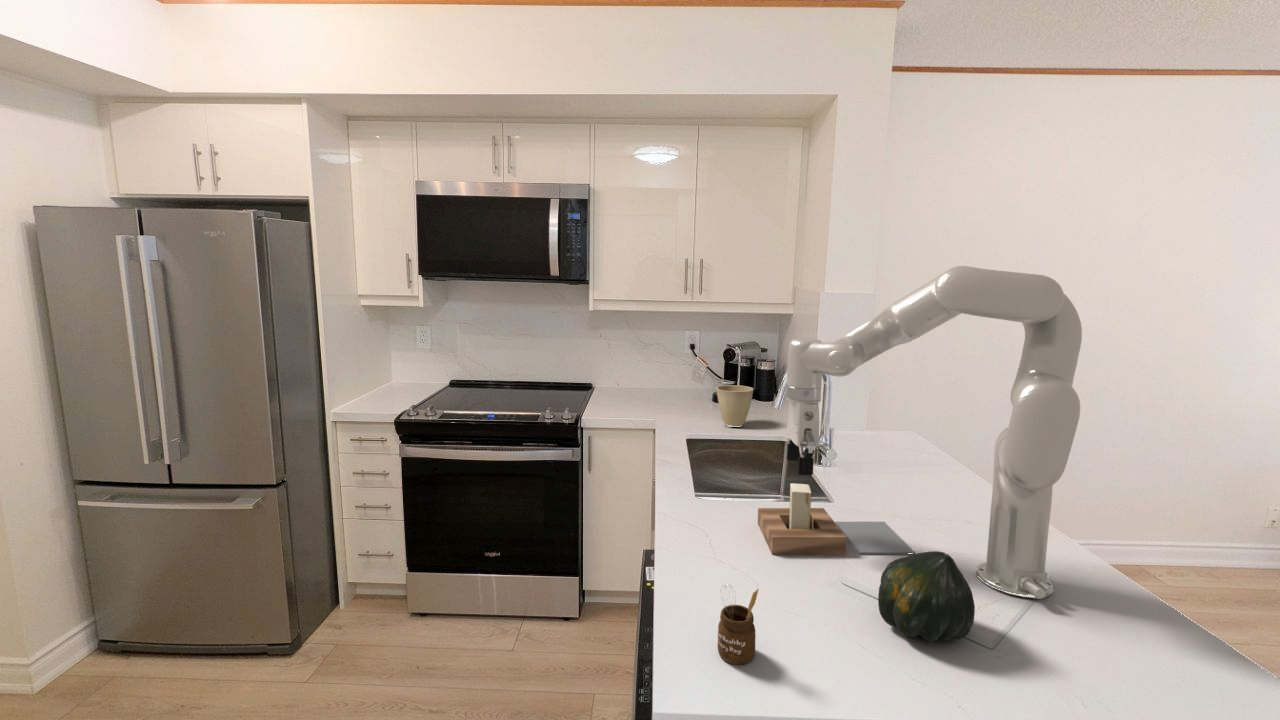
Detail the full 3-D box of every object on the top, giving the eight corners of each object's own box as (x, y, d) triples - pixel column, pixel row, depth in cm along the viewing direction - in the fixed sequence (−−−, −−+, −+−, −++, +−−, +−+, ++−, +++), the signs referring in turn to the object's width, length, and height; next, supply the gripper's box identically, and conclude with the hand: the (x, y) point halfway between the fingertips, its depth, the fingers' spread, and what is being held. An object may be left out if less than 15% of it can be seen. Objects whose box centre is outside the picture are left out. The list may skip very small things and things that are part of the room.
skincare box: (809, 545, 128) (811, 493, 127) (790, 543, 129) (791, 492, 127) (807, 533, 134) (809, 483, 133) (788, 531, 135) (790, 482, 134)
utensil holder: (729, 637, 95) (730, 570, 93) (763, 653, 91) (765, 582, 90) (710, 655, 91) (711, 585, 89) (745, 672, 87) (746, 599, 85)
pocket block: (845, 554, 124) (846, 537, 123) (772, 554, 124) (772, 537, 123) (822, 523, 140) (823, 508, 139) (757, 523, 140) (758, 508, 139)
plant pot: (752, 431, 226) (753, 392, 224) (715, 429, 228) (715, 390, 226) (752, 422, 240) (753, 385, 238) (716, 421, 243) (717, 384, 241)
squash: (849, 578, 103) (897, 543, 93) (912, 567, 109) (964, 532, 98) (888, 663, 95) (946, 634, 84) (955, 645, 100) (1017, 617, 89)
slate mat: (914, 554, 124) (914, 552, 124) (859, 554, 124) (859, 552, 124) (884, 523, 139) (884, 521, 139) (835, 523, 140) (835, 521, 140)
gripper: (832, 402, 119) (827, 481, 121) (809, 386, 136) (805, 455, 138) (796, 402, 119) (792, 480, 121) (777, 386, 136) (774, 455, 138)
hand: (799, 467), depth 130 cm, fingers open, 9 cm apart
